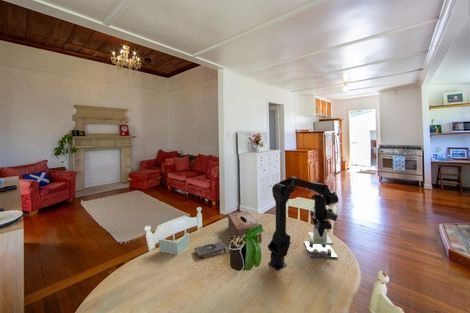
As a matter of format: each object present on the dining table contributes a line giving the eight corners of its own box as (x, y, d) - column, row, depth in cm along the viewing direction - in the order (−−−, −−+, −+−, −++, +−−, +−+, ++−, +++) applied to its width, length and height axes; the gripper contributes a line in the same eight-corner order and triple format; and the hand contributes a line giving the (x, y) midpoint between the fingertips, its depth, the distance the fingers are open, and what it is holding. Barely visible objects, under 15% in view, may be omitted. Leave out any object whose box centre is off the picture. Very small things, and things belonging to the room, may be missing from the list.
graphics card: (220, 237, 128) (228, 246, 117) (221, 243, 128) (228, 253, 117) (192, 244, 121) (198, 254, 110) (193, 250, 122) (198, 261, 111)
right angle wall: (189, 244, 127) (189, 232, 126) (177, 255, 116) (176, 242, 115) (172, 241, 131) (172, 230, 130) (159, 252, 120) (158, 239, 119)
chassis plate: (337, 258, 108) (337, 253, 108) (311, 258, 109) (311, 252, 109) (327, 243, 123) (327, 238, 123) (304, 243, 124) (304, 238, 124)
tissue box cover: (261, 241, 128) (261, 225, 127) (238, 245, 124) (237, 229, 123) (248, 224, 153) (247, 211, 152) (228, 227, 149) (228, 213, 148)
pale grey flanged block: (333, 245, 109) (333, 233, 108) (312, 244, 110) (312, 233, 109) (326, 234, 120) (326, 224, 120) (308, 233, 122) (308, 223, 121)
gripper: (343, 213, 103) (342, 243, 105) (329, 201, 122) (329, 227, 123) (319, 212, 104) (318, 243, 106) (309, 201, 123) (309, 227, 125)
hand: (319, 234), depth 115 cm, fingers closed on pale grey flanged block, 4 cm apart
